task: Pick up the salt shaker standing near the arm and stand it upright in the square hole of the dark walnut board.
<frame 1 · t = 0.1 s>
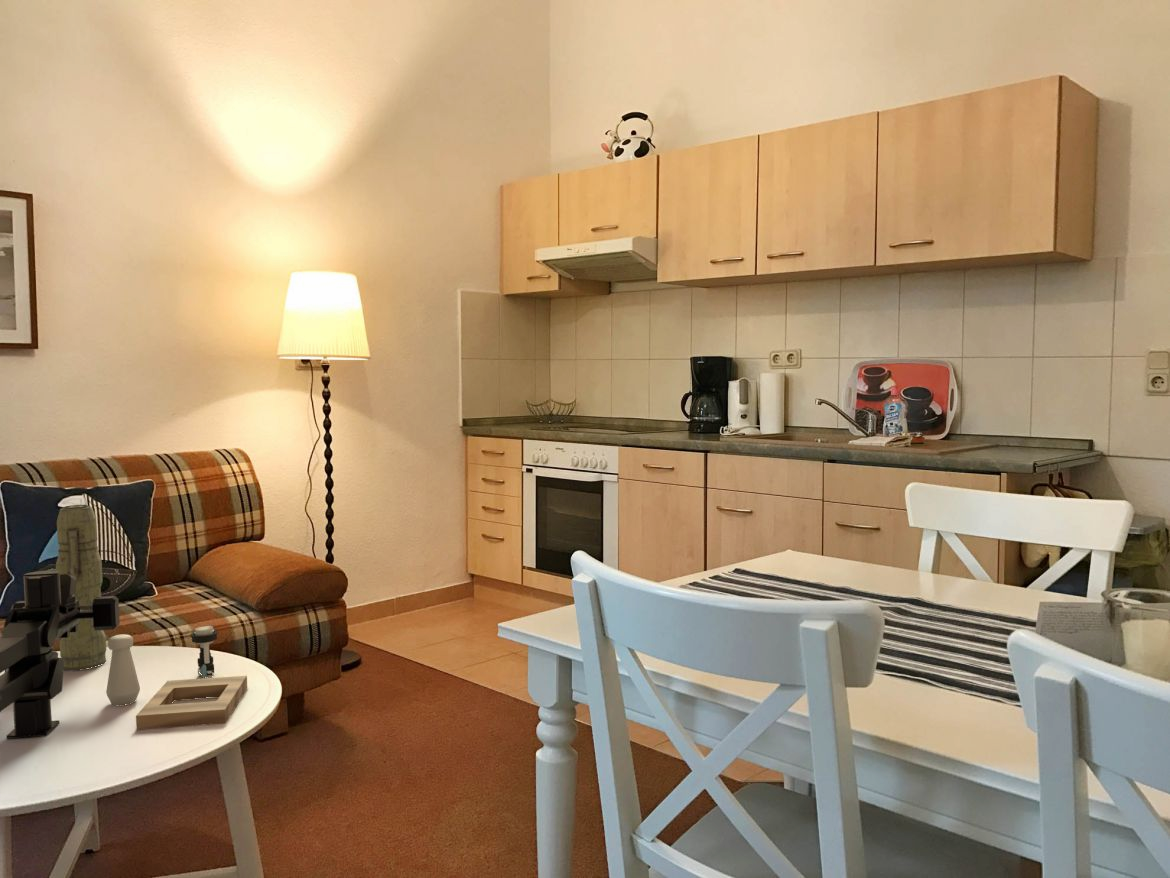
hand: (82, 605, 191), 17 cm above the table, tool horizontal, fingers open, 9 cm apart
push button: (206, 677, 197), on the table
walnut holder board: (195, 707, 177), on the table
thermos: (84, 665, 207), on the table
salt shaker: (123, 703, 181), on the table
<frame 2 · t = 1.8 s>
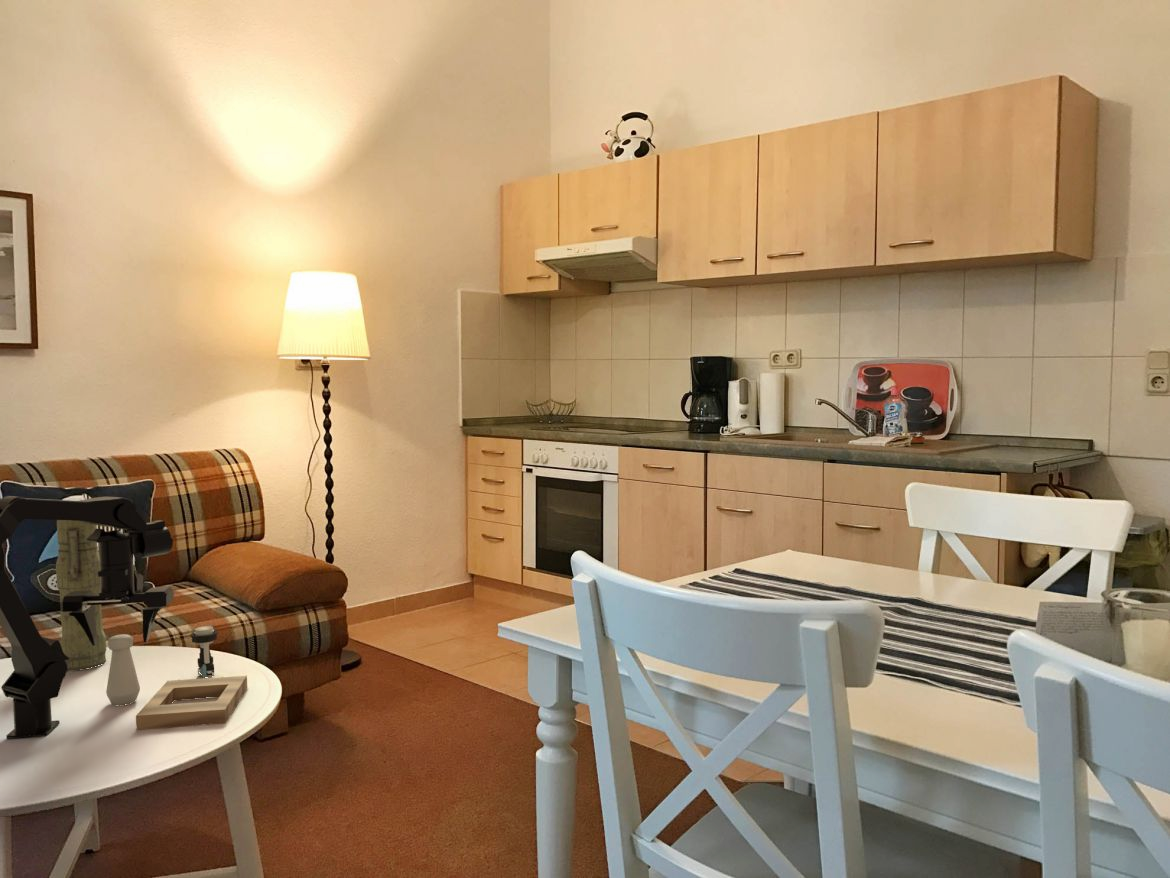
hand: (120, 643, 180), 12 cm above the table, tool pointing down, fingers open, 9 cm apart
nothing on the table moved.
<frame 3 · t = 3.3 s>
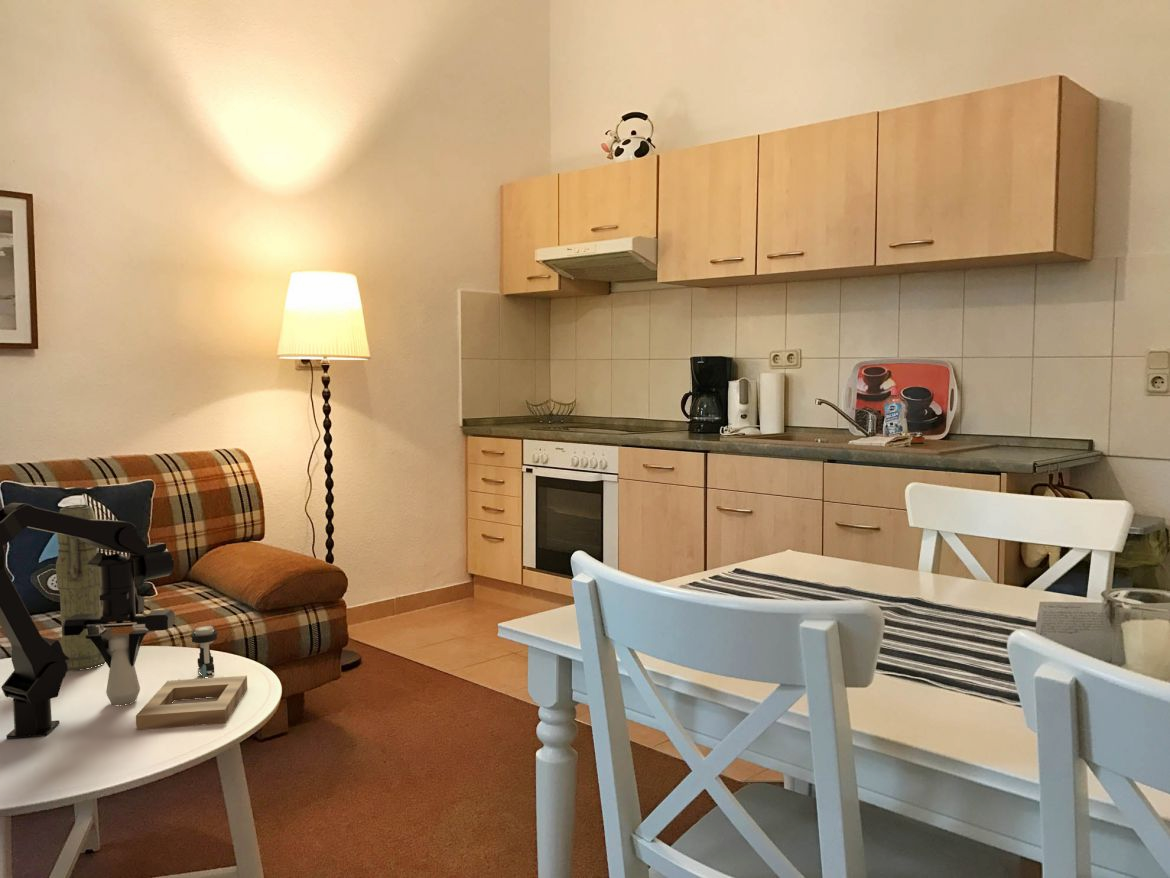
hand: (121, 666, 181), 7 cm above the table, tool pointing down, fingers closed on salt shaker, 3 cm apart
salt shaker: (123, 703, 181), on the table, touching gripper
everything else where it was.
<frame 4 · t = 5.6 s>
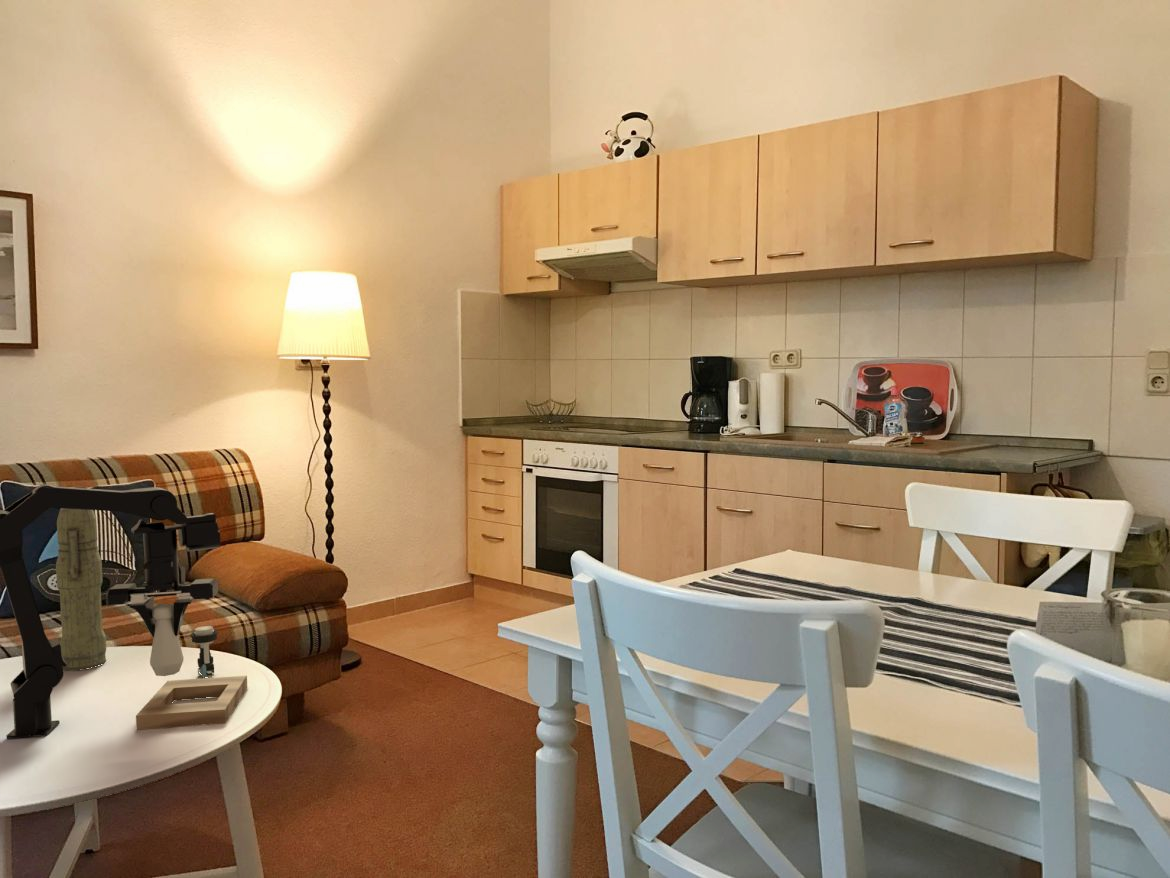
hand: (165, 636, 178), 13 cm above the table, tool pointing down, fingers closed on salt shaker, 3 cm apart
salt shaker: (167, 673, 179), point 6 cm above the table, touching gripper
everything else where it was.
when the fingers open (8 cm above the table, at t = 8.2 s): salt shaker stays where it is, resting in walnut holder board.
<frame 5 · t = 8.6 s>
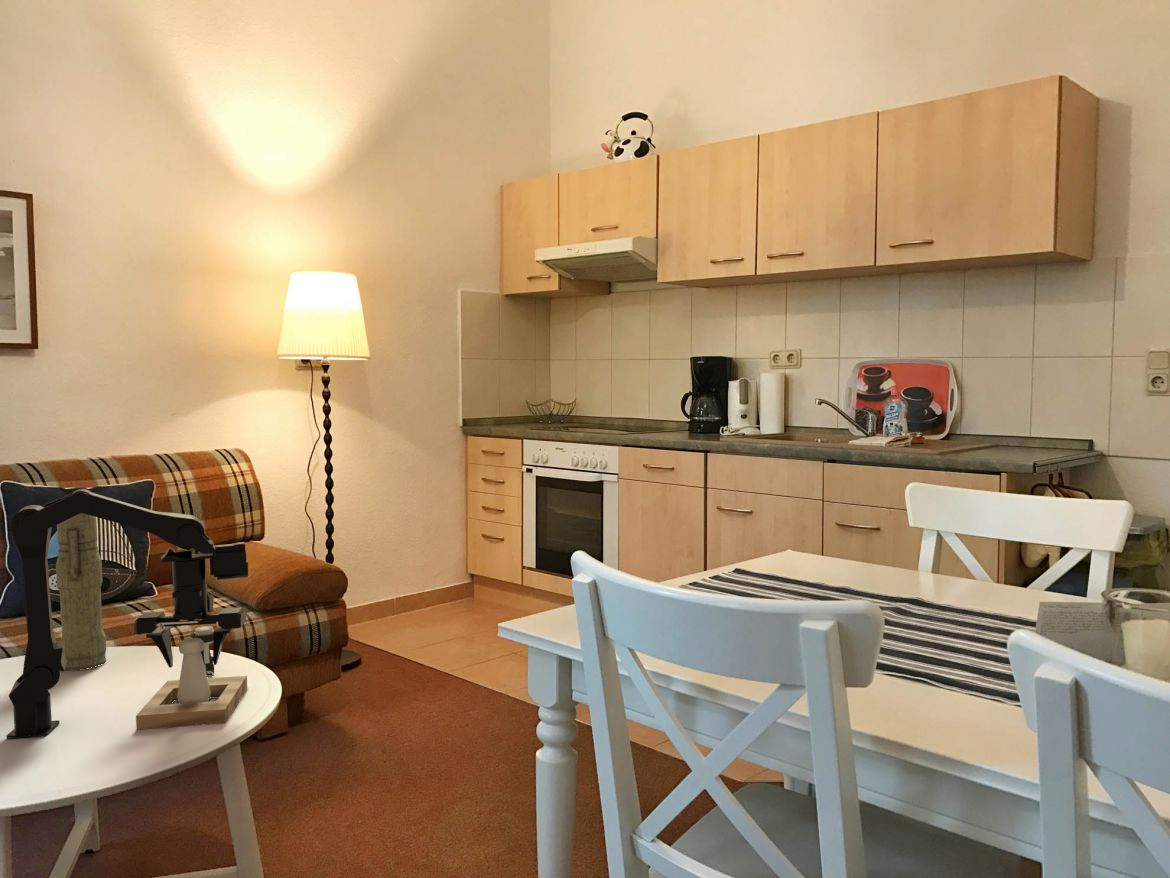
hand: (193, 665, 177), 8 cm above the table, tool pointing down, fingers open, 8 cm apart
salt shaker: (194, 708, 177), resting in walnut holder board
everything else where it was.
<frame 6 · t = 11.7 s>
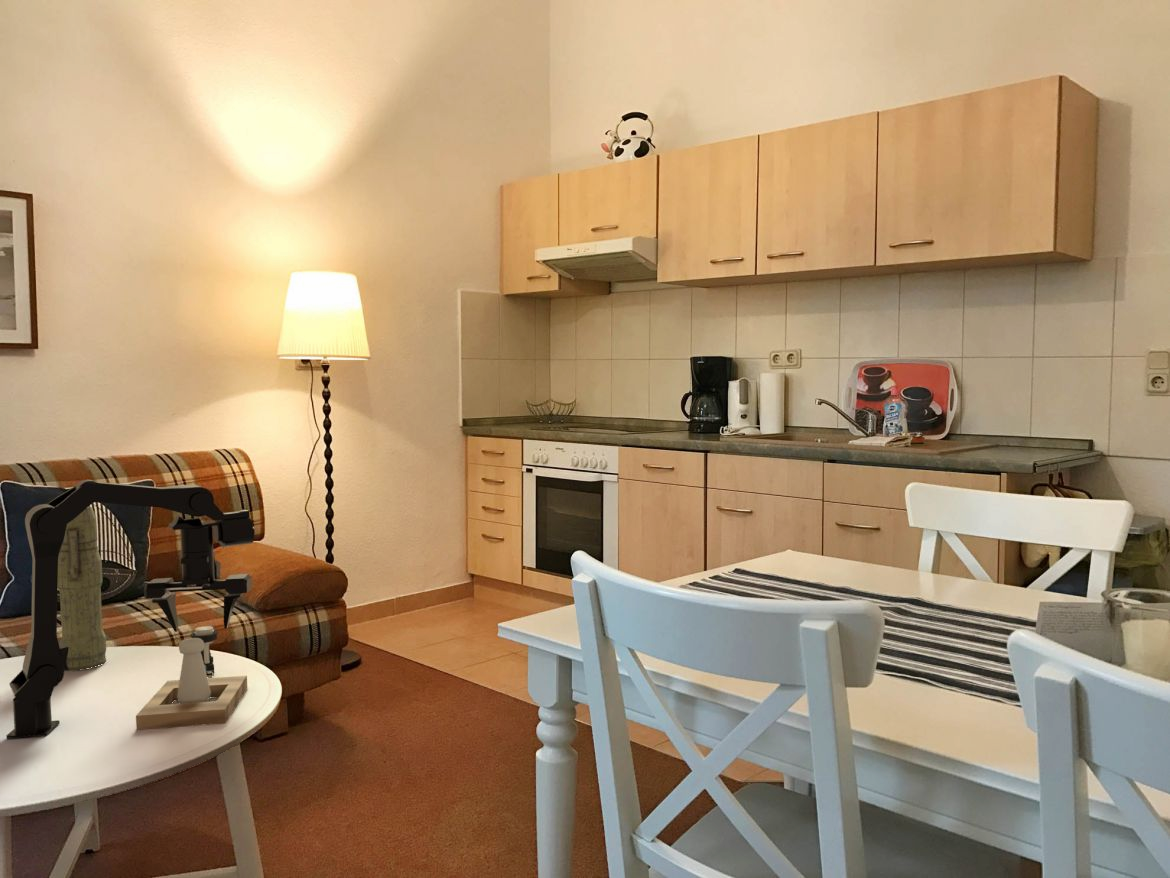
hand: (201, 629, 183), 13 cm above the table, tool pointing down, fingers open, 9 cm apart
nothing on the table moved.
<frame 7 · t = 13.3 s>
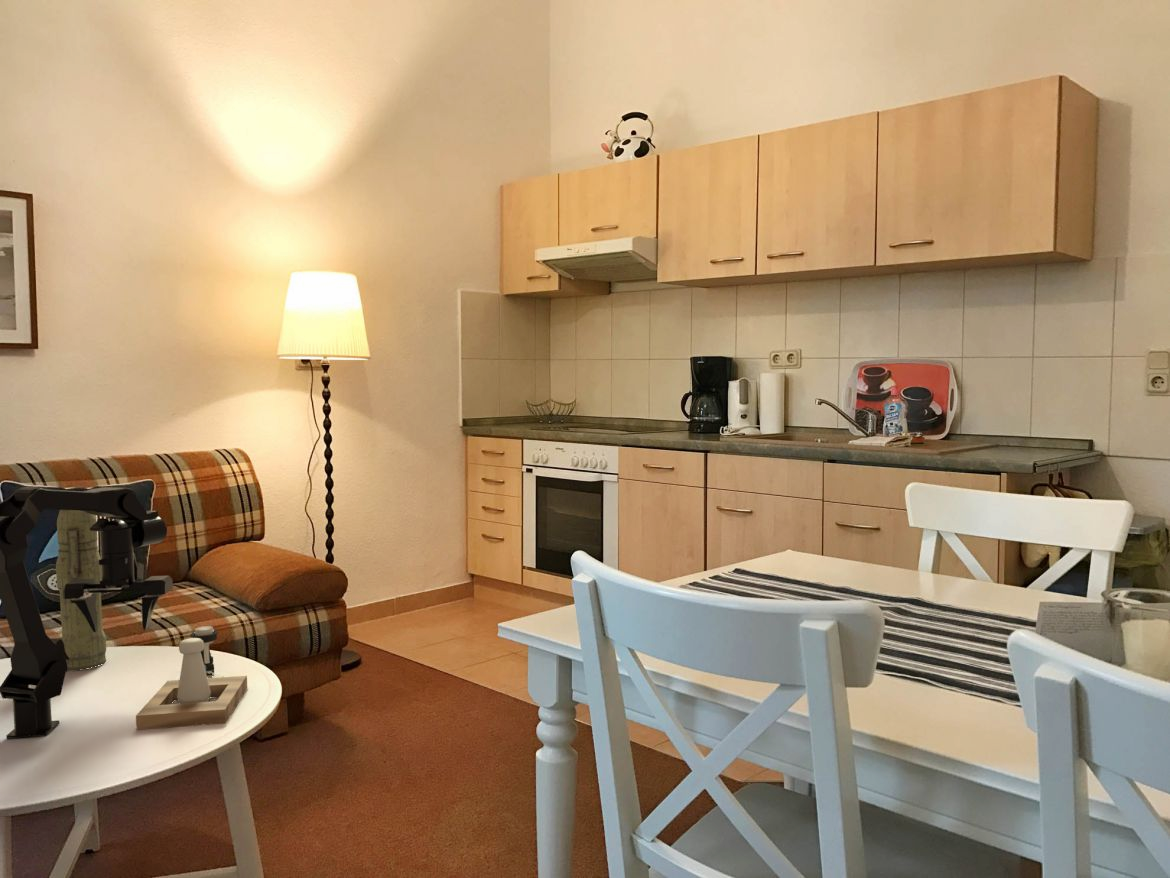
hand: (120, 630, 185), 13 cm above the table, tool pointing down, fingers open, 9 cm apart
nothing on the table moved.
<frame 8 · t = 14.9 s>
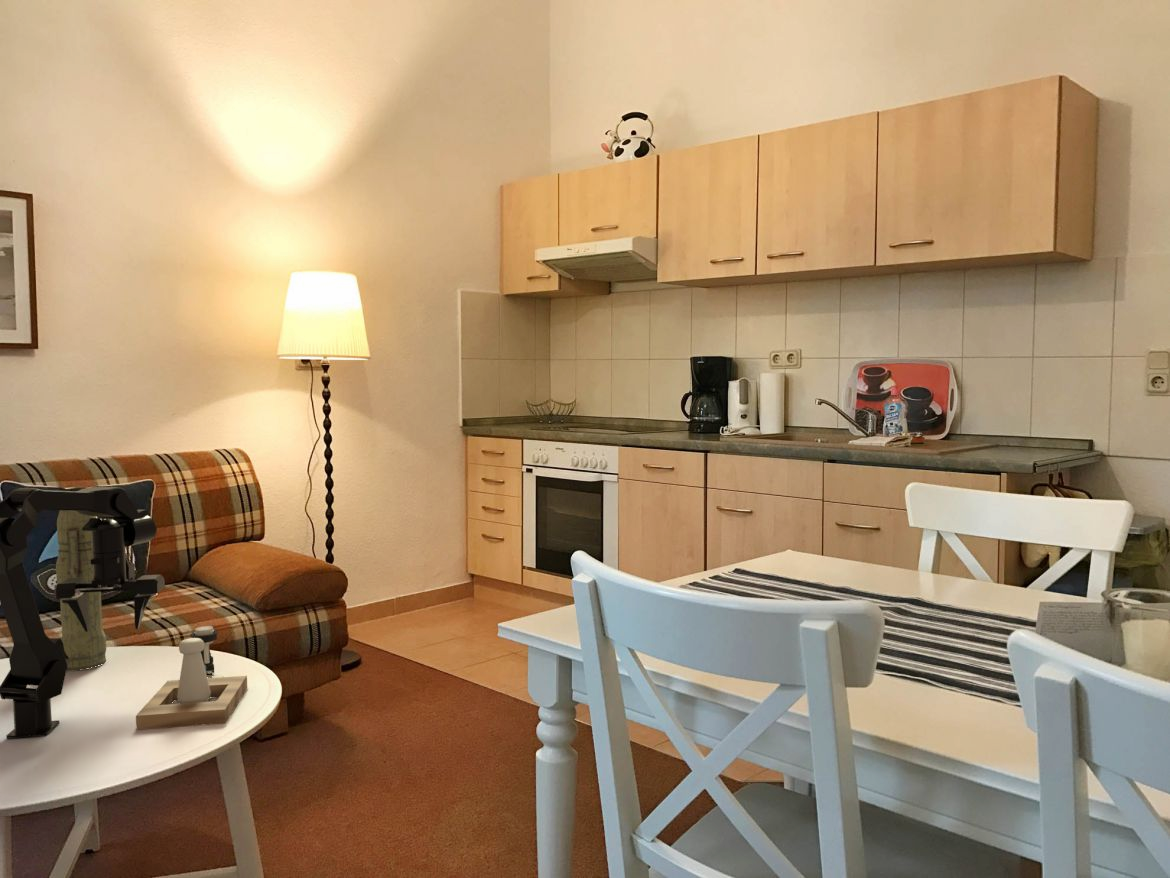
hand: (112, 630, 185), 13 cm above the table, tool pointing down, fingers open, 9 cm apart
nothing on the table moved.
at the end: salt shaker 0.2 cm off-centre on the walnut holder board, point 0.0 cm above the walnut holder board's base; salt shaker tilted 0°; the gripper is holding nothing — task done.
